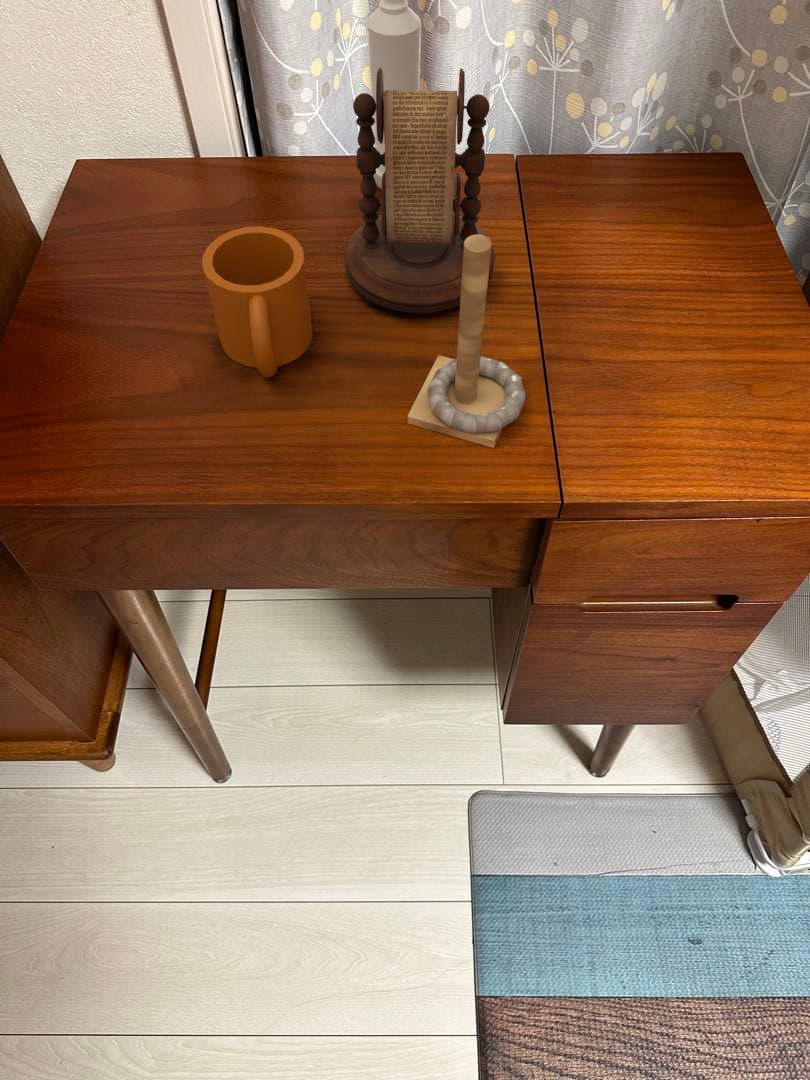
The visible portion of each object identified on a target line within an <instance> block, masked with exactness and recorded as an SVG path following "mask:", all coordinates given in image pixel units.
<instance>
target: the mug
mask: <svg viewBox="0 0 810 1080" xmlns="http://www.w3.org/2000/svg"><path fill="white" fill-rule="evenodd" d="M201 268H202V272H203V275H204V276H203V277H204V280H205V284H206V288H207V292H208V296H209V299H210V300H209V301H210V306H211V309H212V313H213V317H214V321H215V326H216V329H217V334H218V337H219V342H220V344H221V348H222V350H223V352H224V353H225V354H226V355H227V356H228V357H229V358H230V359H231V360H232V361H234V362H236V363H238V364H241V365H242V366H244V367H249V368H255V369H257V370H258V371H259V373H260V375H261V376H263V377H265V378H272V377H273V376H275V375H276V374H277V372H278V368H279V367H281V366H284V365H288V364H290V363H291V362H293V361H295V360H297V359H299V358H300V357H301V356H302V355H303V354H304V353H305V352H306V351H307V350H308V349H309V347H310V345H311V343H312V340H313V324H312V315H311V314H312V313H311V306H310V297H309V289H308V278H307V270H306V269H307V268H306V263H305V252H304V249H303V247H302V246H301V243H300V242H299V240H298V239H296V238H295V237H293V235H291V234H290V233H288V232H285V231H283V230H282V229H278V228H273V227H268V226H261V225H260V226H259V225H258V226H245V227H240V228H236V229H233V230H230V231H228V232H226V233H223V234H222V235H220V236H217V237H216V238H215V239H214V240H213V241H211V243H210V244H208V245H207V247H206V249H205V251H204V253H203V254H202V261H201Z"/></svg>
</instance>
